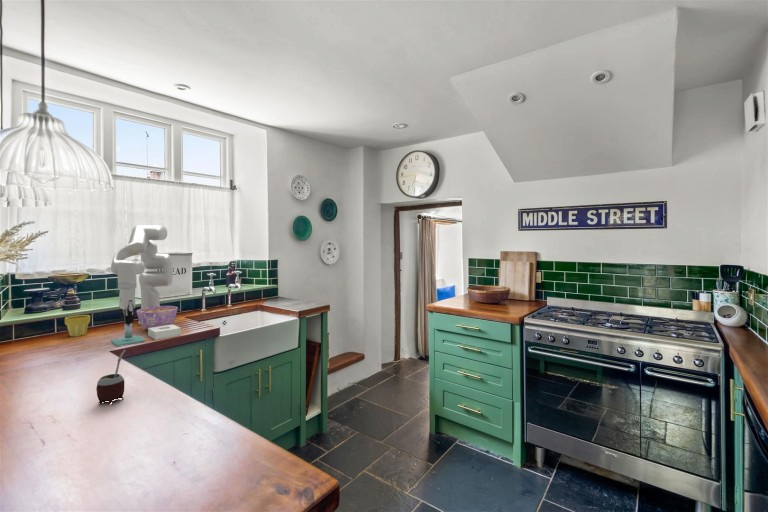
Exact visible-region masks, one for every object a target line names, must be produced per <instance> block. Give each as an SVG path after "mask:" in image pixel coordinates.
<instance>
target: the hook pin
mask: <svg viewBox="0 0 768 512" xmlns="http://www.w3.org/2000/svg"><path fill="white" fill-rule="evenodd" d="M125 316H126V312H124V322H123V323H124V328H123V329H124V338H132V337H133V323H127V324H126V323H125Z"/></svg>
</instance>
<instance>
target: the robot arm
mask: <svg viewBox="0 0 768 512" xmlns="http://www.w3.org/2000/svg"><path fill="white" fill-rule="evenodd" d="M167 237H168V229H167V227H166V226H165V225H156V224H155V225H153V224H152V225H150V224H149V225H148V224H145V225H144V224H143V225H142V224H140V225H135V226H134V227H132V229H131V234H130V237H129V240H128V244H126V245H124V246H123V247H122V248H119V250H117V251H116V253H114V255H113V256H112V257H113V258H112V260H111V264H110V270H111V272H112V273H113V274H114V275H117V289H118V290H119V295H118V296H119V298H118V299H119V300H118V307H119V308H120V309H122V319H123V320H122V322H123V323H124V312H126V316H125V323H126V324H127V323H132V324H133V323H134V309H135V308H136V295H135V294H136V293H135V290H136V289H137V285H138V284H137V275H138V283H139V288H140V309H142V308H147V307H155V306H161V305H160V304H161V303H160V292H159V291H158V289H157V288H156V287H169V286H171V285H172V284H173V262H172V261H173V260H172V259H173V258H172V256H171V255H170V254H169V253H158V244H157V243H156V242H155V241H164V240H166V239H167ZM137 255H140V259H128V258H131V257H135V256H137ZM148 270H150V271H148ZM158 270H159V271H158ZM138 325H141V324H140V321H139V320H138Z"/></svg>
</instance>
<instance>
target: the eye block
mask: <svg viewBox="0 0 768 512" xmlns="http://www.w3.org/2000/svg"><path fill="white" fill-rule="evenodd" d="M147 336H149V337H150V338H152V339H153V340H155V341H156V340H162V339H167V338H174V337H178V336H182V328H181V327H180V326H178V325H175V324H174V323H173V324H172V325H165V326H159V327H152V328H148V329H147Z"/></svg>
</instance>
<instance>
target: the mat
mask: <svg viewBox="0 0 768 512" xmlns="http://www.w3.org/2000/svg"><path fill="white" fill-rule="evenodd" d="M144 341H146V342H147V339H146V338H144V337H142V336H141V335H134V336H133V337H132V338H125V337H122V338H121V337H120V338H115V339H110V342H111V343H112V344H113V345H114V346H116V347H122V346H121V345H123V346H127V345H126V344H129V345H132V344H131V343H135V344H139V343H138V342H140V343H145V342H144Z"/></svg>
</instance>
